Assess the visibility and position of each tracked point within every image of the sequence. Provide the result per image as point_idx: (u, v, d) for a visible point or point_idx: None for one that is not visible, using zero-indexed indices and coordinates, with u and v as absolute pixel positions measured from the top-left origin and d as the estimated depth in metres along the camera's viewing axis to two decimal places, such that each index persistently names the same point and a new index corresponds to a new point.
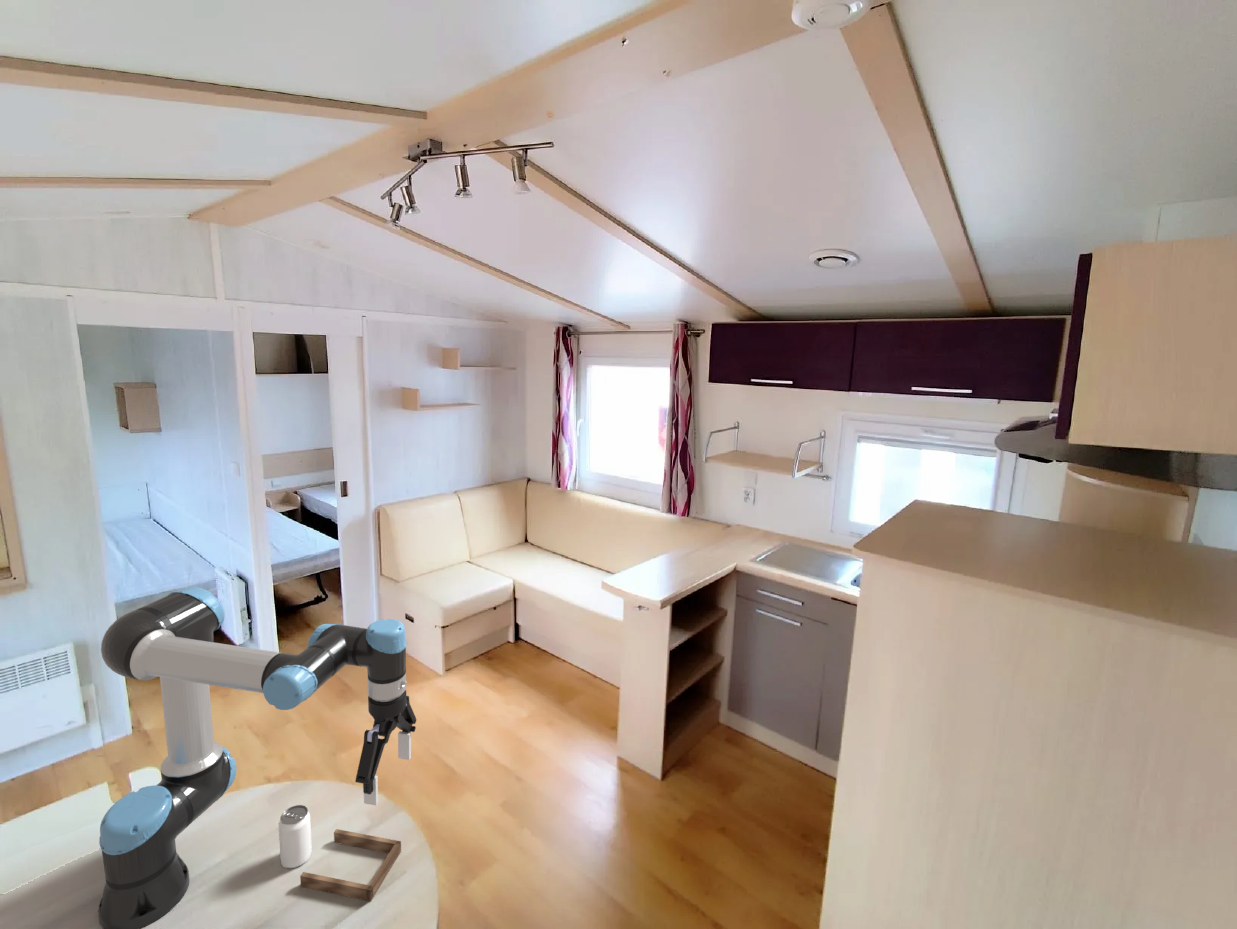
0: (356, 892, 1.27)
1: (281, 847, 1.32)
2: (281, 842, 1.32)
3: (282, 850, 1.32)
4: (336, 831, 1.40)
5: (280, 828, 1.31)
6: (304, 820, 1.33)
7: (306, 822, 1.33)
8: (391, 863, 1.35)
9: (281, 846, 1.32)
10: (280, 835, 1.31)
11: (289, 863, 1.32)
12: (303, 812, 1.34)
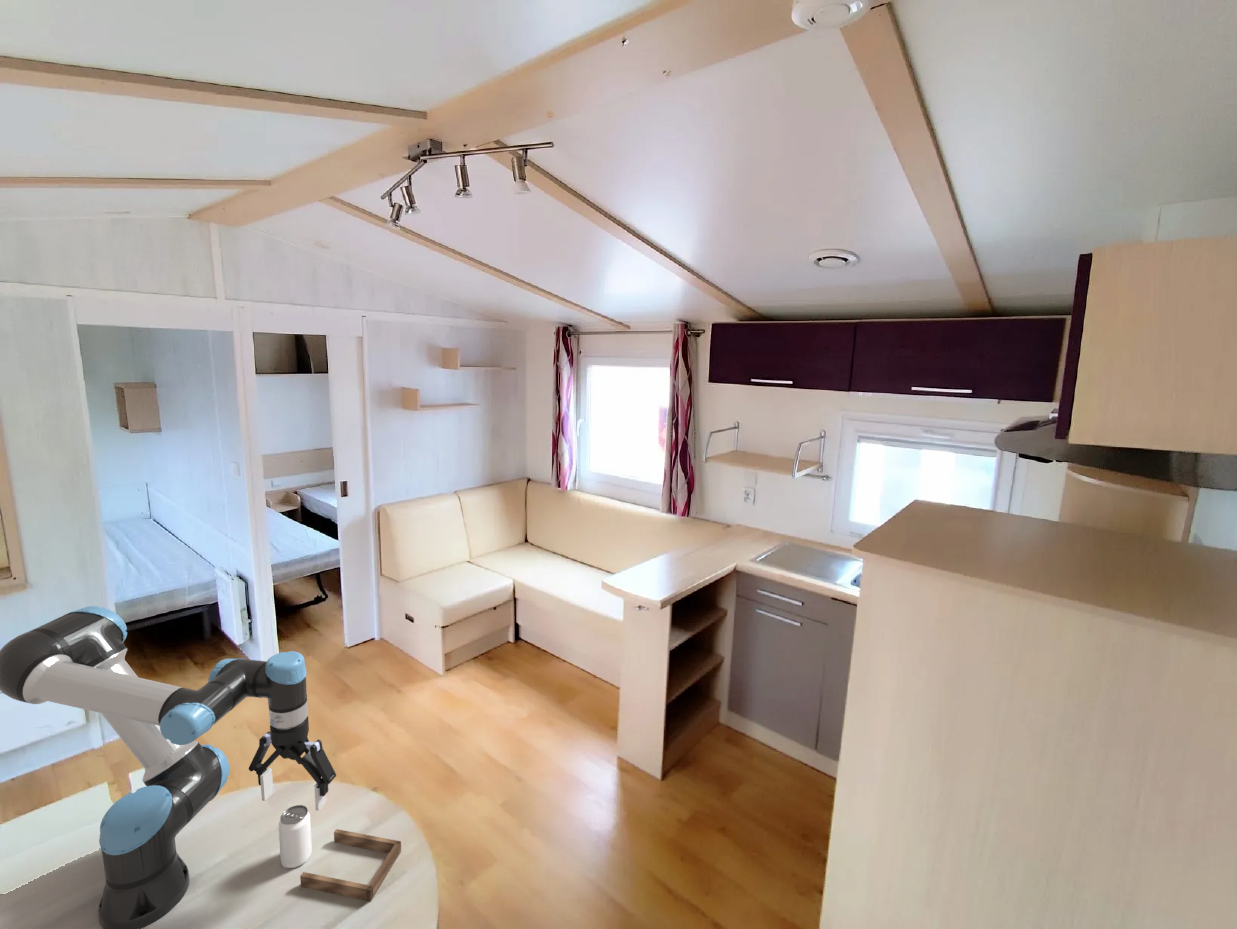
0: (356, 892, 1.27)
1: (281, 847, 1.32)
2: (281, 842, 1.32)
3: (282, 850, 1.32)
4: (336, 831, 1.40)
5: (280, 828, 1.31)
6: (304, 820, 1.33)
7: (306, 822, 1.33)
8: (391, 863, 1.35)
9: (281, 846, 1.32)
10: (280, 835, 1.31)
11: (289, 863, 1.32)
12: (303, 812, 1.34)
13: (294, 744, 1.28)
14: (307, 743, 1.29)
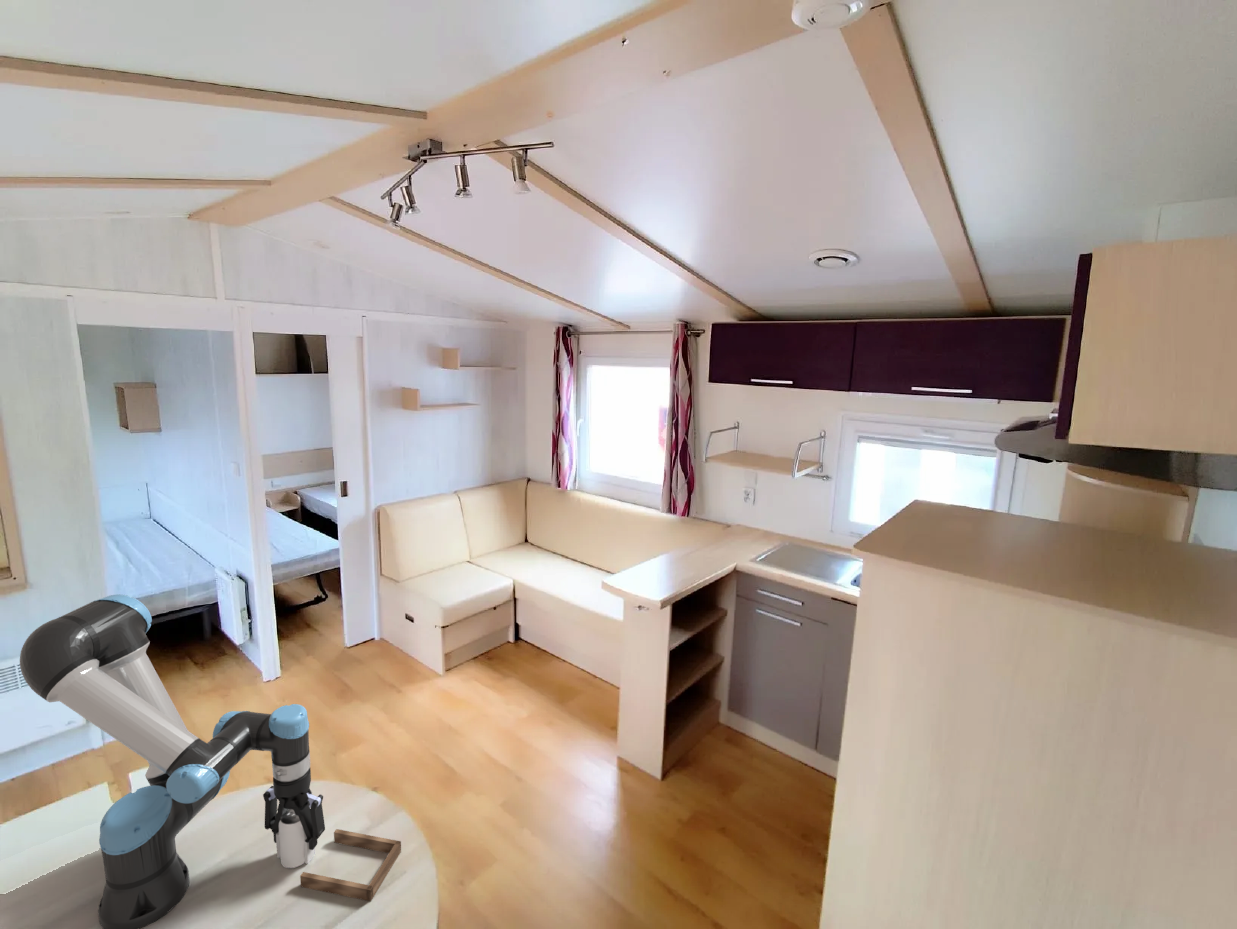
0: (356, 892, 1.27)
1: (281, 847, 1.32)
2: (281, 842, 1.32)
3: (282, 850, 1.32)
4: (336, 831, 1.40)
5: (280, 828, 1.31)
6: None
7: None
8: (391, 863, 1.35)
9: (281, 846, 1.32)
10: (280, 835, 1.31)
11: (289, 863, 1.32)
12: None
13: (298, 794, 1.31)
14: (310, 795, 1.32)
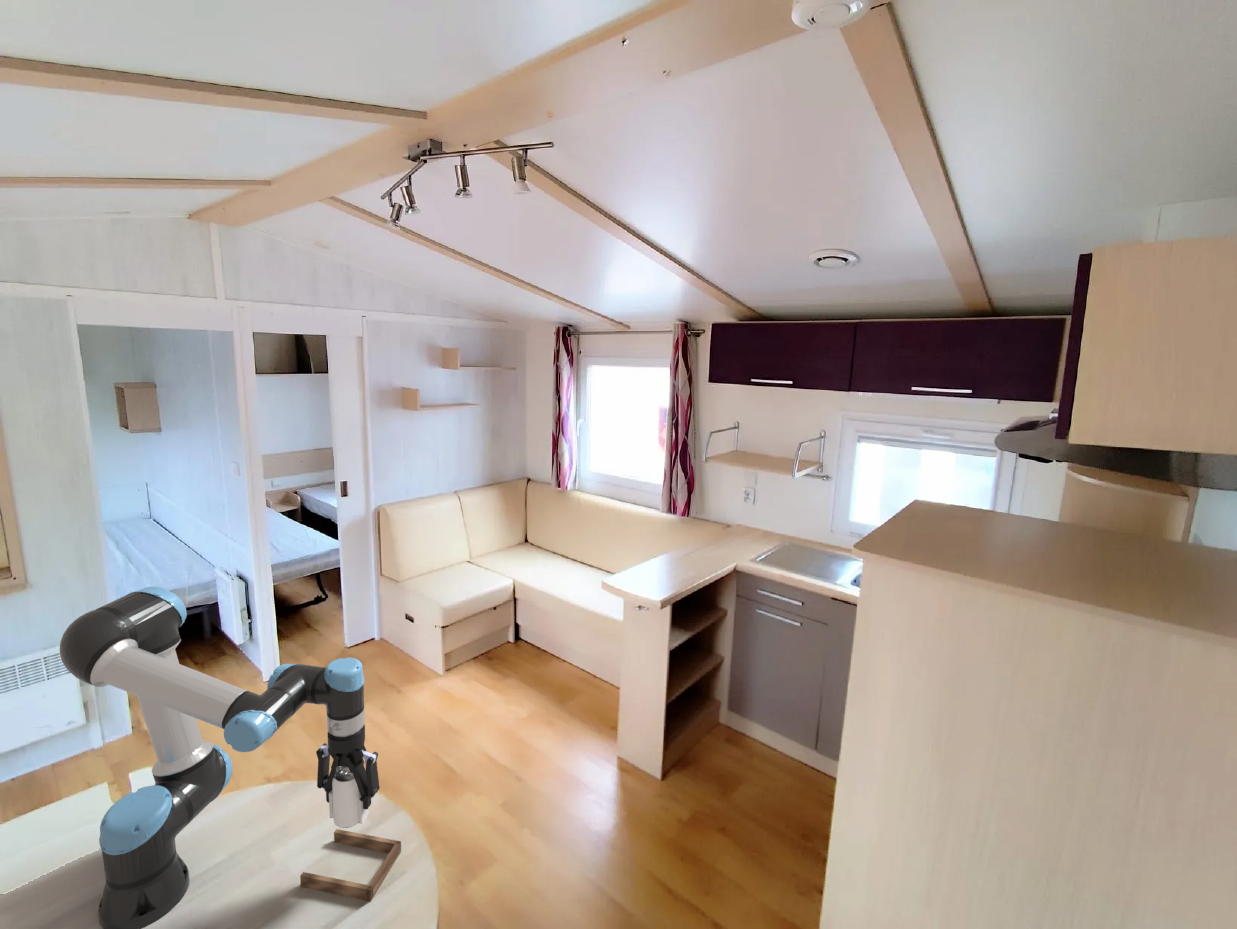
0: (356, 892, 1.27)
1: (335, 806, 1.27)
2: (335, 800, 1.27)
3: (336, 809, 1.27)
4: (336, 831, 1.40)
5: (334, 786, 1.27)
6: None
7: None
8: (391, 863, 1.35)
9: (335, 805, 1.27)
10: (334, 793, 1.27)
11: (343, 822, 1.28)
12: None
13: (352, 750, 1.26)
14: (364, 752, 1.27)
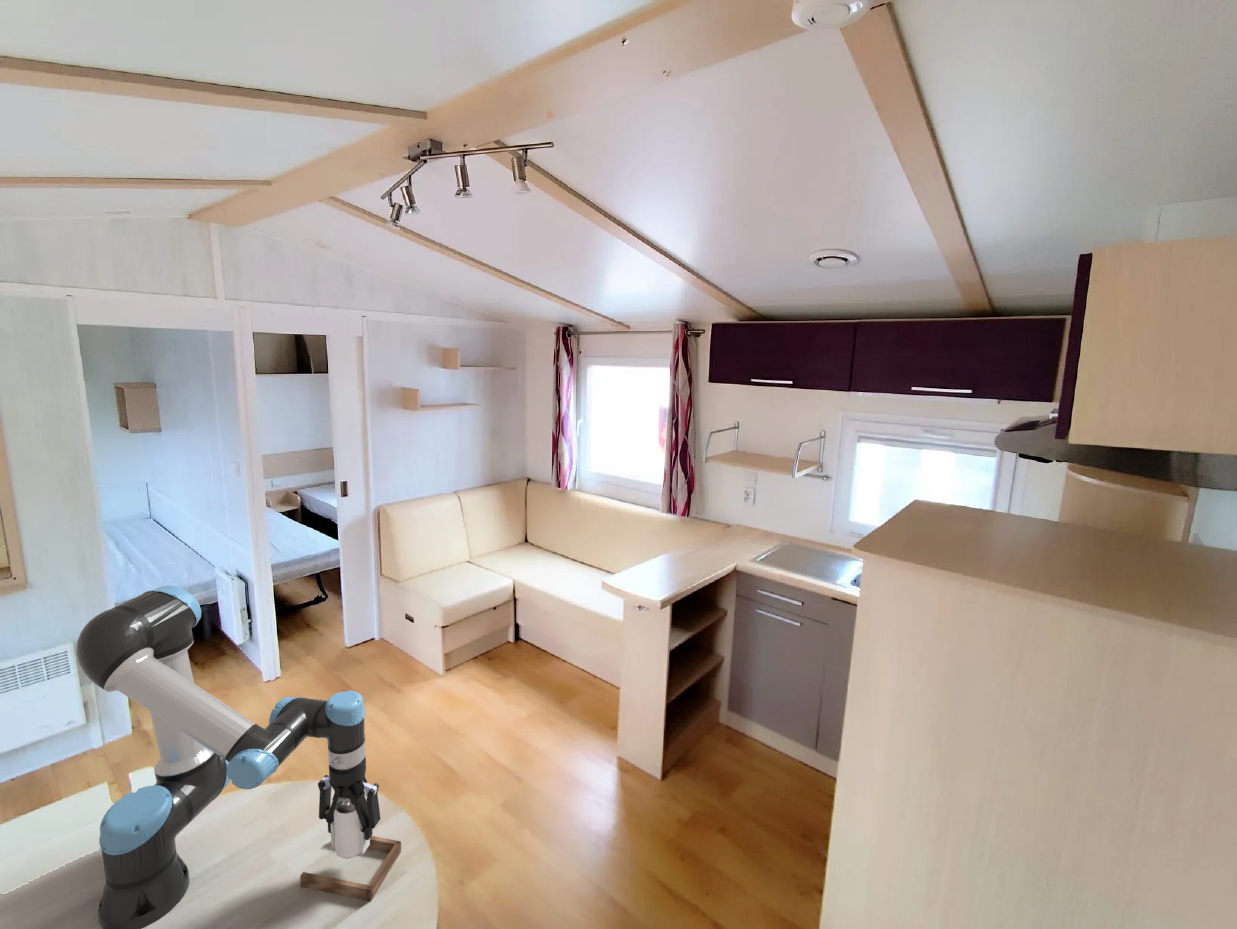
0: (356, 892, 1.27)
1: (336, 837, 1.29)
2: (337, 832, 1.29)
3: (337, 840, 1.29)
4: None
5: (336, 817, 1.28)
6: None
7: None
8: (391, 863, 1.35)
9: (337, 836, 1.29)
10: (336, 825, 1.29)
11: (345, 853, 1.29)
12: None
13: (354, 782, 1.28)
14: (365, 784, 1.29)
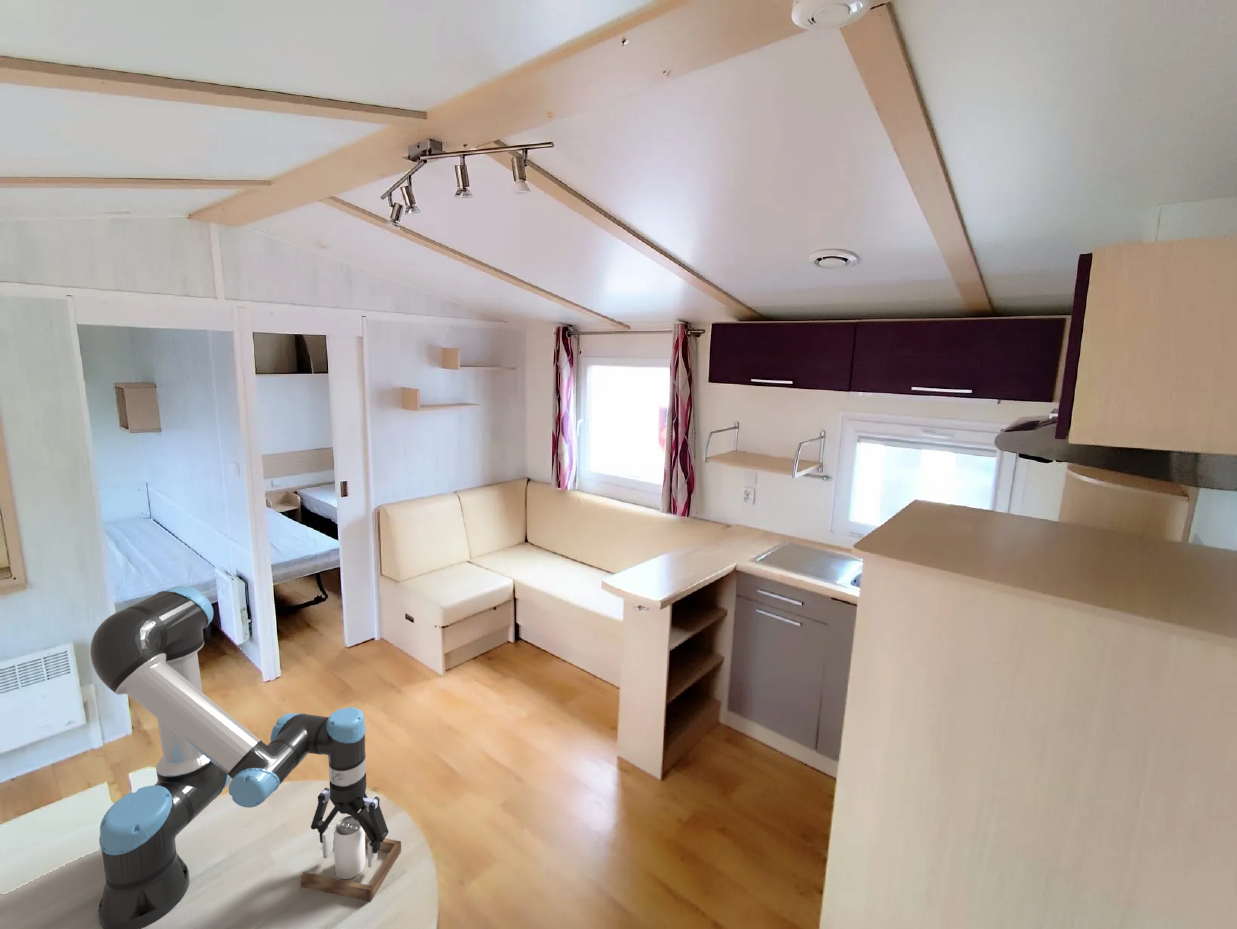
0: (356, 892, 1.27)
1: (336, 858, 1.30)
2: (337, 853, 1.30)
3: (337, 861, 1.30)
4: None
5: (336, 839, 1.29)
6: (359, 831, 1.31)
7: (362, 832, 1.31)
8: (391, 863, 1.35)
9: (336, 857, 1.30)
10: (336, 846, 1.30)
11: (345, 874, 1.30)
12: (357, 822, 1.33)
13: (353, 799, 1.29)
14: (365, 799, 1.29)
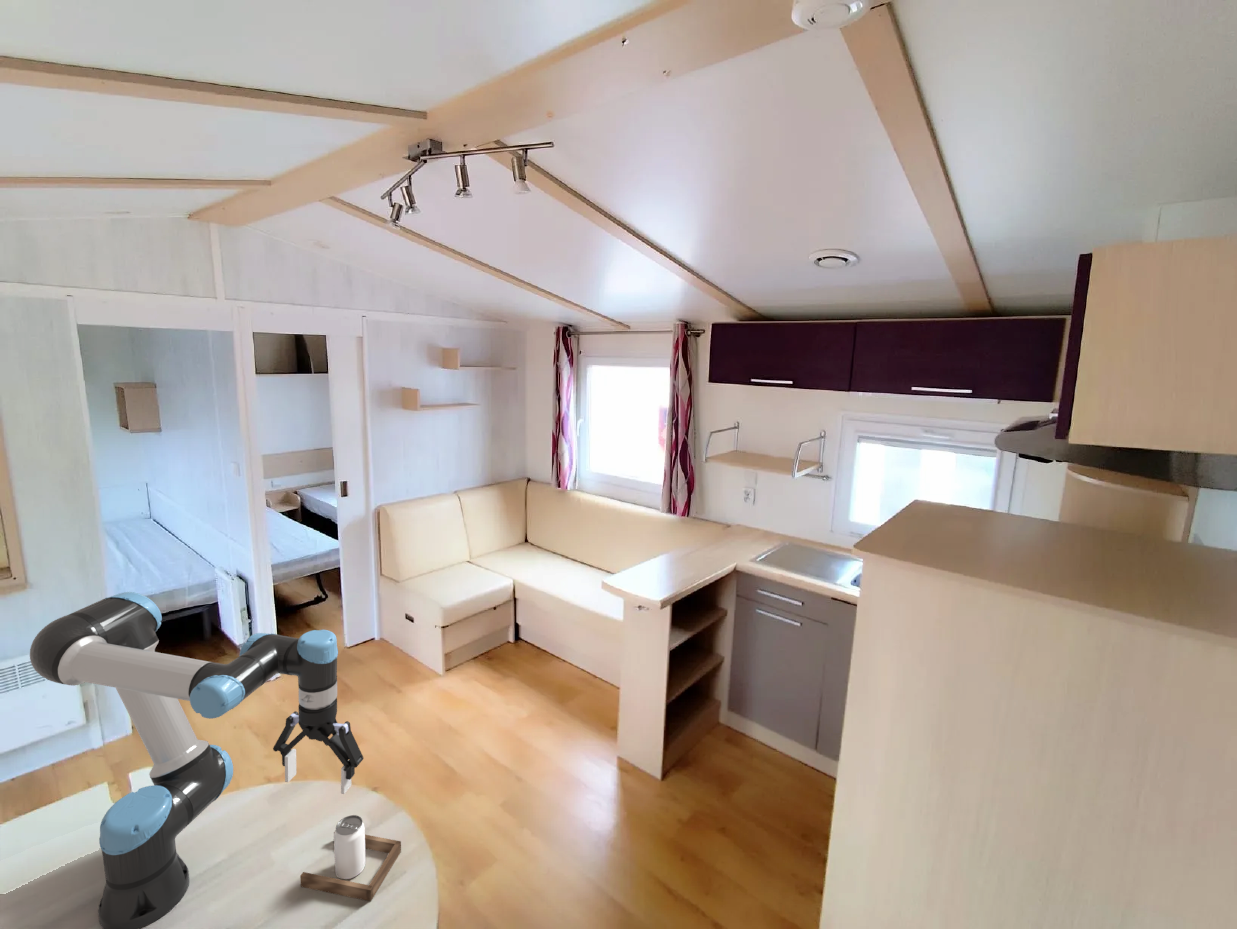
0: (356, 892, 1.27)
1: (336, 858, 1.30)
2: (337, 853, 1.30)
3: (337, 861, 1.30)
4: None
5: (336, 839, 1.29)
6: (359, 831, 1.31)
7: (362, 832, 1.31)
8: (391, 863, 1.35)
9: (336, 857, 1.30)
10: (336, 846, 1.30)
11: (345, 874, 1.30)
12: (357, 822, 1.33)
13: (322, 725, 1.25)
14: (335, 724, 1.25)
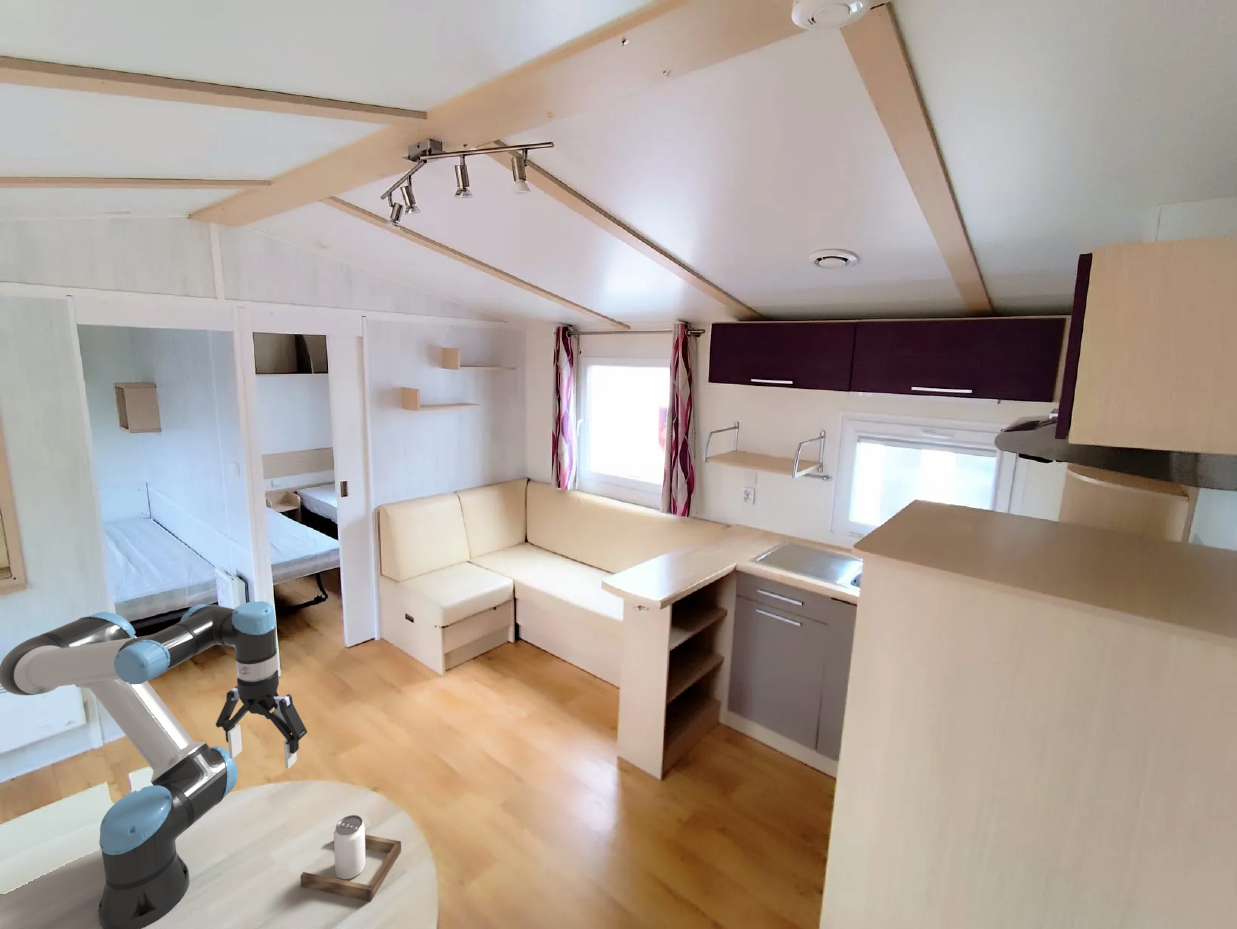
0: (356, 892, 1.27)
1: (336, 858, 1.30)
2: (337, 853, 1.30)
3: (337, 861, 1.30)
4: None
5: (336, 839, 1.29)
6: (359, 831, 1.31)
7: (362, 832, 1.31)
8: (391, 863, 1.35)
9: (336, 857, 1.30)
10: (336, 846, 1.30)
11: (345, 874, 1.30)
12: (357, 822, 1.33)
13: (262, 698, 1.23)
14: (276, 697, 1.23)
